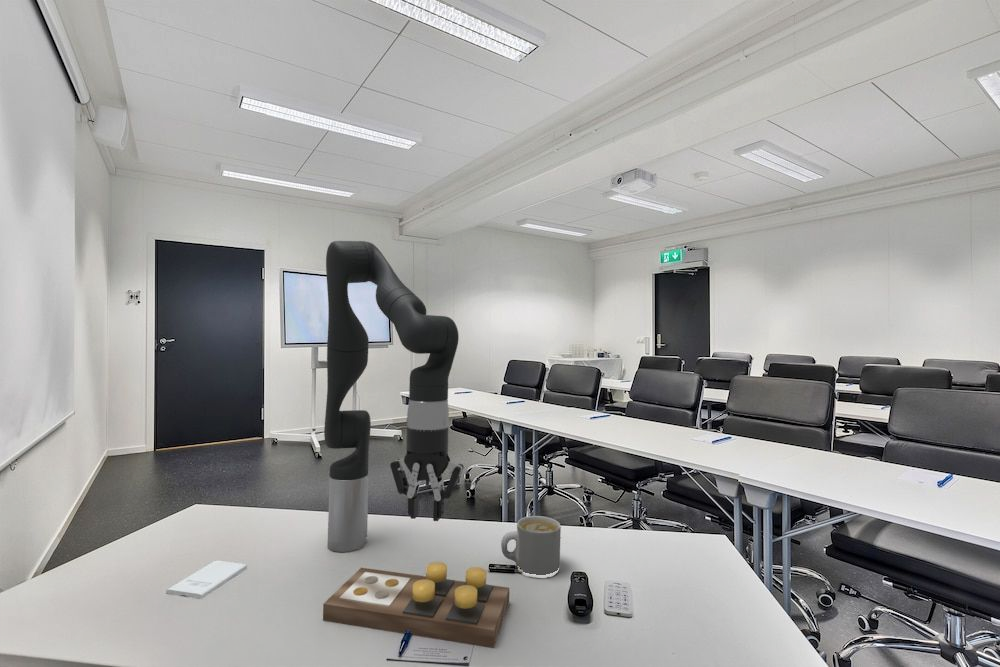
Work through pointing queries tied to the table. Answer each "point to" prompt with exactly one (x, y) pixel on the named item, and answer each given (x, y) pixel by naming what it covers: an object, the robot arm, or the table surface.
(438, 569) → the button
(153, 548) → the table surface
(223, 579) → the external hard drive
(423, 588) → the button
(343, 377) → the robot arm
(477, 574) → the button
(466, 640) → the button board
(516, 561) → the coffee mug
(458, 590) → the button
